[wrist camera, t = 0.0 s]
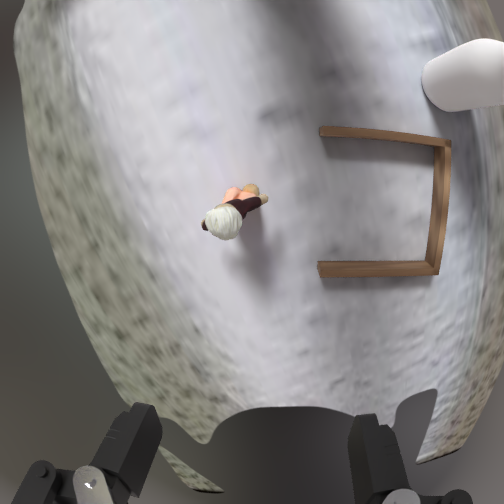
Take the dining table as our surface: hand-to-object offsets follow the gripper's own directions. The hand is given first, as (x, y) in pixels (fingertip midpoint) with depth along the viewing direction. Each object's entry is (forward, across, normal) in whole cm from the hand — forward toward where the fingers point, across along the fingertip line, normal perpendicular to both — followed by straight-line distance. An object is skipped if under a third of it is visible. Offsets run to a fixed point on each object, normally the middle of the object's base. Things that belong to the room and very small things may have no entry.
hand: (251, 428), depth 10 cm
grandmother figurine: (+30, +4, -4) cm, 30 cm away
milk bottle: (+30, -24, -21) cm, 43 cm away
